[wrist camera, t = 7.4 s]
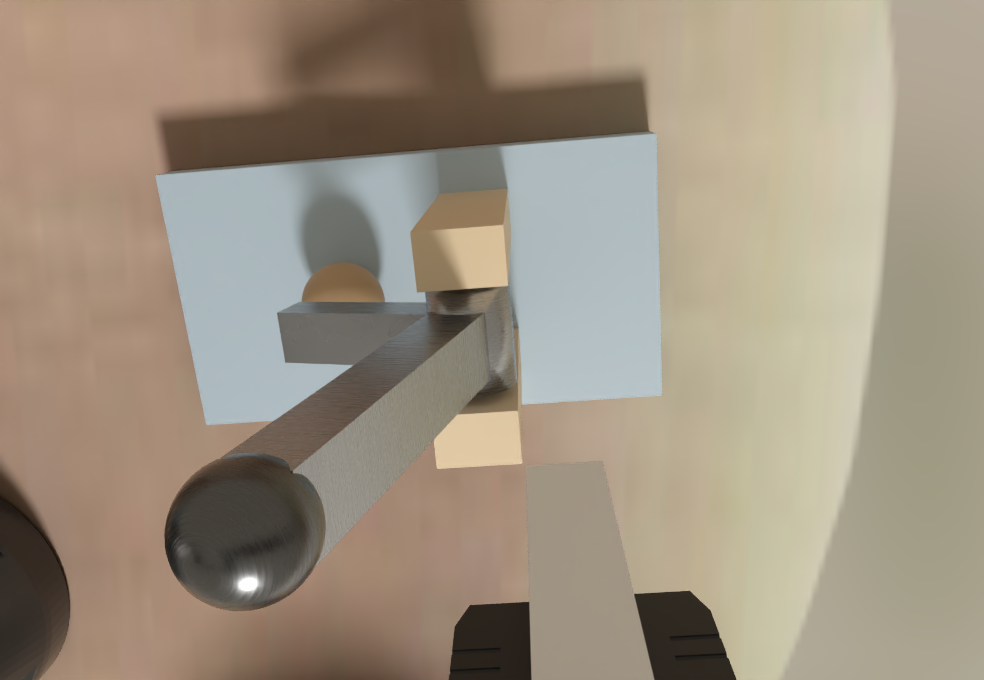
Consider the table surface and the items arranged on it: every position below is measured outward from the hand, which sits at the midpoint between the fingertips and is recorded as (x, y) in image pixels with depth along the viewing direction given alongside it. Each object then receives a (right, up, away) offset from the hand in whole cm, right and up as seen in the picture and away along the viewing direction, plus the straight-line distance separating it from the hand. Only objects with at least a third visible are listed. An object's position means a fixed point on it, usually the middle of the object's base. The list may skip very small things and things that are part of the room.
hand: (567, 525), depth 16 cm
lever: (-5, +4, +15) cm, 16 cm away
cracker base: (-5, +7, +23) cm, 24 cm away
